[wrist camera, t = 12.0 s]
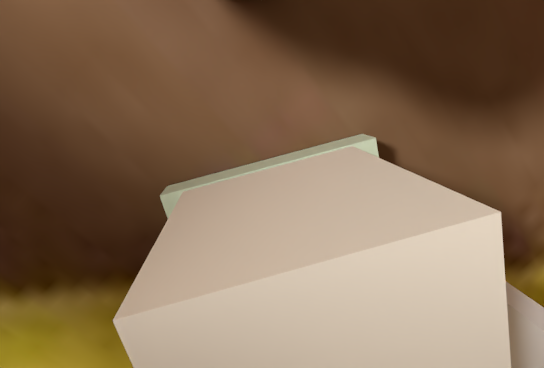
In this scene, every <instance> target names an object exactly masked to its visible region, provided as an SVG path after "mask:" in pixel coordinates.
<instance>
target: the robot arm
mask: <svg viewBox="0 0 544 368" xmlns="http://www.w3.org/2000/svg"><path fill="white" fill-rule="evenodd" d="M505 282H506V281H505ZM506 297H507V312H508V327H509V342H510V357H511V367H512V368H544V307H542V306H541V305H539V304H538V303H536V302H535V301H534V300H532V299H531V298H529V297H528V296H526V295H525V294H523V293H522V292H521V291H519V290H518V289H516V288H515V287H513V286H512V285H510V284H509V283H508V282H506Z"/></svg>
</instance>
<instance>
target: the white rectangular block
mask: <svg viewBox="0 0 544 368" xmlns="http://www.w3.org/2000/svg"><path fill="white" fill-rule="evenodd" d="M113 323H114V325H115V327H116V330H117V332H118V334H119V336H120V338H121V341H122V343H123V345H124V347H125V350H126V352H127V354H128V356H129V358H130V361H131V363H132V365H133V367H134V368H511V357H510V342H509V327H508V312H507V297H506V282H505V267H504V251H503V236H502V221H501V212H500V211H498V210H495V209H493V208H491V207H489V206H486V205H484V204H482V203H480V202H477V201H475V200H473V199H471V198H468V197H466V196H464V195H462V194H459V193H457V192H455V191H453V190H450V189H448V188H446V187H444V186H441V185H439V184H437V183H435V182H432V181H430V180H428V179H426V178H423V177H421V176H419V175H417V174H414V173H412V172H410V171H408V170H405V169H403V168H401V167H399V166H396V165H394V164H392V163H390V162H387V161H385V160H383V159H381V158H378V157H376V156H374V155H372V154H369V153H367V152H365V151H362V150H360V149H358V148H356V147H353V146H350V147H346V148H342V149H339V150H335V151H331V152H328V153H324V154H320V155H316V156H313V157H309V158H305V159H302V160H298V161H294V162H290V163H287V164H283V165H279V166H276V167H272V168H268V169H264V170H261V171H257V172H253V173H250V174H246V175H242V176H238V177H235V178H231V179H227V180H224V181H220V182H216V183H212V184H209V185H205V186H201V187H198V188H194V189H190V190H186V191H183V193H182V194H181V196H180V198H179V200H178V202H177V204H176V205H175V207H174V209H173V211H172V213H171V215H170V216H169V218H168V220H167V222H166V224H165V226H164V227H163V229H162V231H161V233H160V235H159V236H158V238H157V240H156V242H155V244H154V246H153V247H152V249H151V251H150V253H149V255H148V257H147V258H146V260H145V262H144V264H143V266H142V268H141V269H140V271H139V273H138V275H137V277H136V279H135V280H134V282H133V284H132V286H131V288H130V290H129V291H128V293H127V295H126V297H125V299H124V301H123V302H122V304H121V306H120V308H119V310H118V312H117V313H116V315H115V317H114V319H113Z"/></svg>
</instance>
